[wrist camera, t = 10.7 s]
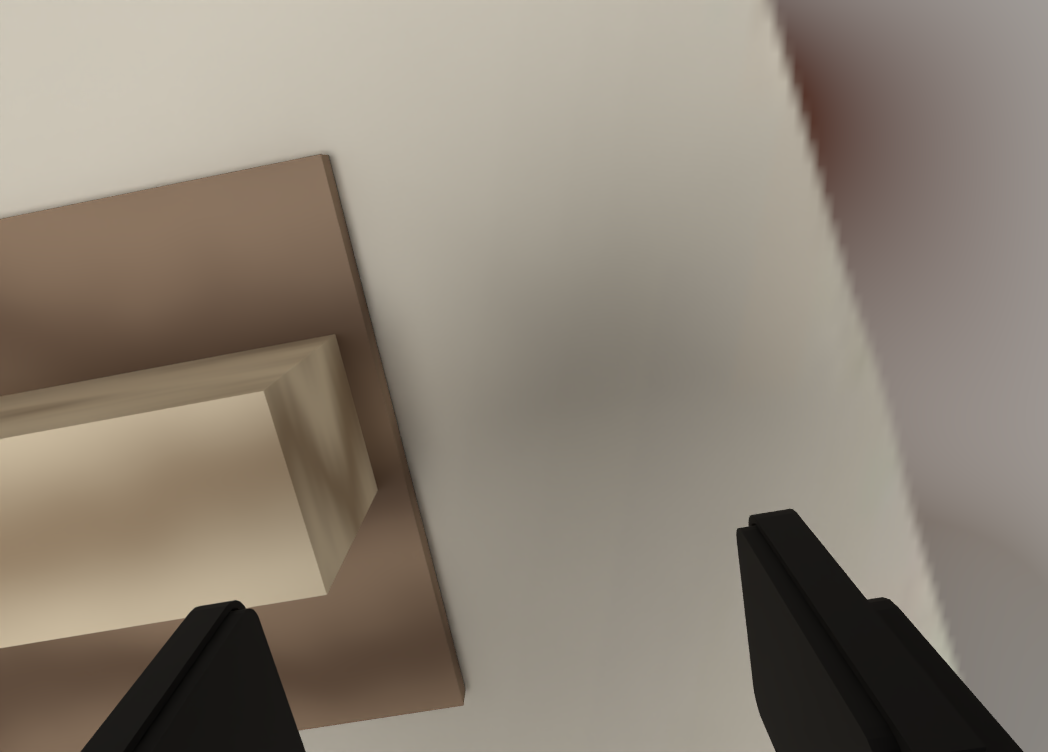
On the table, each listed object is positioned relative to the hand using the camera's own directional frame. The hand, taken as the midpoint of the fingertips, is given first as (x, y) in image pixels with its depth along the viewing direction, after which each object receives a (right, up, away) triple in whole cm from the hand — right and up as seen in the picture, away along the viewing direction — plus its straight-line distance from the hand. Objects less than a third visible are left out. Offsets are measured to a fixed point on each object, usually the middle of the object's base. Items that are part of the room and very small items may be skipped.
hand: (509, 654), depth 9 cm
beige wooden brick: (-11, +1, +13) cm, 17 cm away
